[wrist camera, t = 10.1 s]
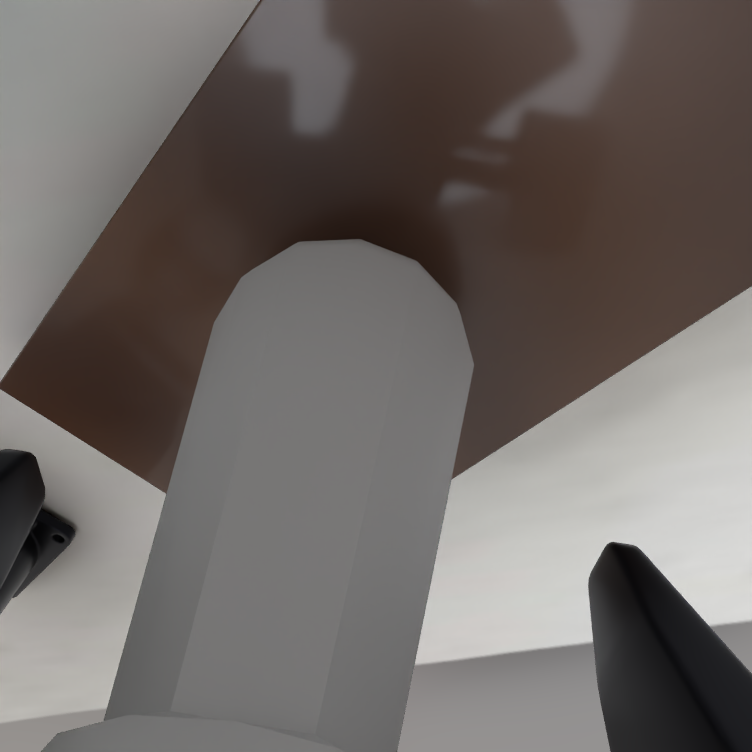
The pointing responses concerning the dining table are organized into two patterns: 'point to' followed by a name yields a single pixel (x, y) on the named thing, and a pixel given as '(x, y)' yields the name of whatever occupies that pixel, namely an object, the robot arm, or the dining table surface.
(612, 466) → the dining table surface
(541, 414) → the serving board
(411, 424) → the salt shaker
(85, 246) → the dining table surface
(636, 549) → the robot arm
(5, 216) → the dining table surface
